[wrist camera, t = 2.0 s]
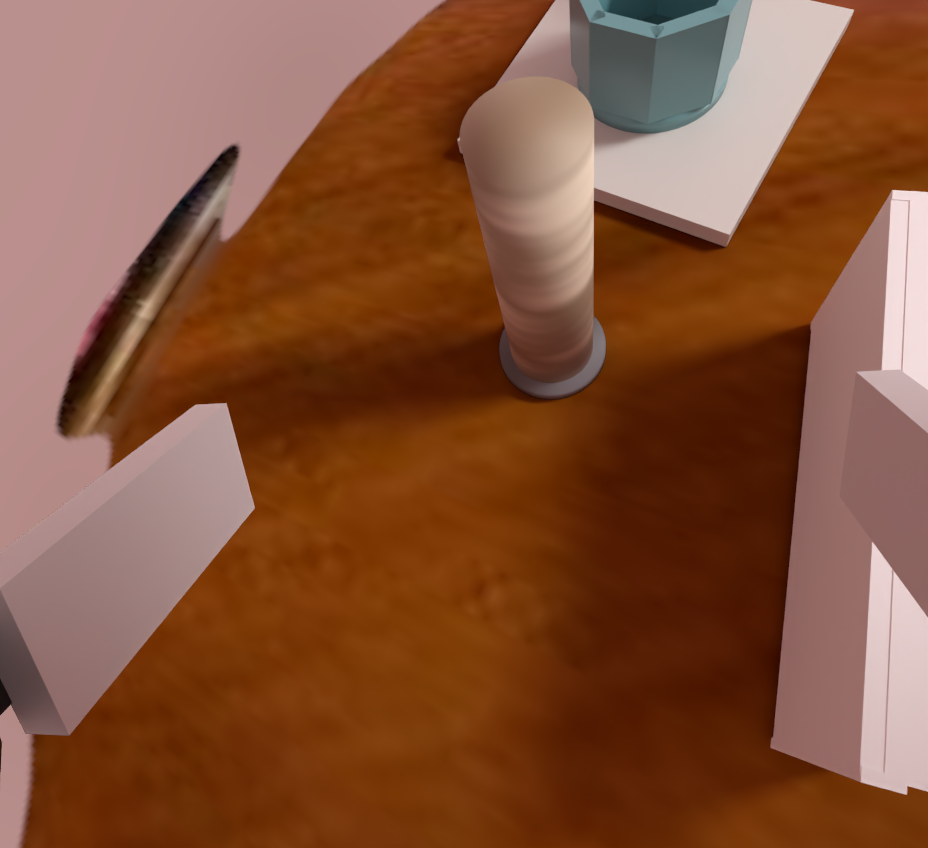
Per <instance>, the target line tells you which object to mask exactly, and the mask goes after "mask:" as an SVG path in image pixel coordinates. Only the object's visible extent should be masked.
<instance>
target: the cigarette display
mask: <svg viewBox="0 0 928 848" xmlns="http://www.w3.org/2000/svg"><path fill="white" fill-rule="evenodd" d="M810 330H811V338H810V348H809V359H808V370H807V380H806V391H805V402H804V412H803V423H802V434H801V444H800V455H799V466H798V477H797V487H796V498H795V509H794V519H793V530H792V541H791V551H790V562H789V573H788V583H787V594H786V605H785V616H784V626H783V637H782V648H781V658H780V669H779V680H778V690H777V701H776V712H775V722H774V733H773V738H772V737H771V746H770V748H772V749H775V750H777V751H780V752H782V753H785V754H788V755H790V756H793V757H796V758H798V759H801V760H804V761H806V762H809V763H811V764H814V765H817V766H819V767H822V768H825V769H827V770H830V771H833V772H835V773H838V774H840V775H843V776H846V777H848V778H851V779H854V780H856V781H859V782H862V783H865V784H869V785H873V786H876V787H880V788H884V789H887V790H891V791H894V792H898V793H902V794H905V795H907V786H909V787H913V788H917V789H920V790H924V791H928V617H927V616H926V614H925V613H924V612H923V610H922V609H921V607H920V606H919V605H918V603H917V602H916V601H915V599H914V598H913V597H912V595H911V594H910V592H909V591H908V590H907V588H906V587H905V586H904V584H903V583H902V581H901V580H900V579H899V577H898V576H897V575H896V573H895V572H894V570H893V569H892V568H891V566H890V565H889V564H888V562H887V561H886V560H885V558H884V557H883V555H882V554H881V553H880V551H879V550H878V549H877V547H876V546H875V544H874V543H873V542H872V540H871V539H870V538H869V536H868V535H867V534H866V532H865V531H864V529H863V528H862V527H861V525H860V524H859V523H858V521H857V520H856V518H855V517H854V516H853V514H852V513H851V512H850V510H849V509H848V508H847V506H846V505H845V503H844V502H843V501H842V499H841V498H840V497H839V494H840V487H841V480H842V472H843V465H844V457H845V450H846V443H847V435H848V428H849V420H850V413H851V406H852V398H853V391H854V383H855V376H856V372H859V371H879V370H899V369H900V370H901V371H903V372H904V373H905V374H907V375H908V376H909V377H911V378H912V379H913V380H915V381H916V382H917V383H919V384H920V385H922V386H923V387H924V388H926V389H927V390H928V192H917V191H899V190H892V192H891V194H890V195H889V197H888V198H887V200H886V202H885V203H884V205H883V207H882V208H881V210H880V211H879V213H878V215H877V216H876V218H875V220H874V221H873V223H872V224H871V226H870V228H869V229H868V231H867V233H866V234H865V236H864V237H863V239H862V241H861V242H860V244H859V246H858V247H857V249H856V250H855V252H854V254H853V255H852V257H851V259H850V260H849V262H848V263H847V265H846V267H845V268H844V270H843V271H842V273H841V275H840V276H839V278H838V280H837V281H836V283H835V284H834V286H833V288H832V289H831V291H830V293H829V294H828V296H827V297H826V299H825V301H824V302H823V304H822V306H821V307H820V309H819V310H818V312H817V314H816V315H815V317H814V319H813V320H812V322H811V326H810Z"/></svg>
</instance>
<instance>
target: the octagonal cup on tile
mask: <svg viewBox="0 0 928 848" xmlns="http://www.w3.org/2000/svg"><path fill="white" fill-rule="evenodd" d="M853 12H854V10H852V9H847V8H842V7H838V6H833V5H829V4H824V3H820V2H815V1H810V0H555V2H554V3H553V4H552V6H551V7H550V9H549V10H548V12H547V13H546V14H545V16H544V17H543V19H542V20H541V22H540V23H539V24H538V26H537V27H536V29H535V30H534V31H533V33H532V34H531V36H530V37H529V39H528V40H527V41H526V43H525V44H524V46H523V47H522V49H521V50H520V51H519V53H518V54H517V56H516V57H515V58H514V60H513V61H512V63H511V64H510V66H509V67H508V68H507V70H506V71H505V73H504V74H503V76H502V77H501V78H500V80H499V81H498V83H497V84H496V86H498V85H500V84H502V83H505V82H507V81H510V80H514V79H518V78H523V77H533V76H536V77H550V78H554V79H558V80H561V81H564V82H566V83H568V84H570V85H572V86H574V87H575V88H577V89H578V90H579V91H580V92H581V93H582V94H583V95H584V96H585V97H586V98H587V100H588V101H589V103H590V105H591V107H592V110H593V115H594V200H595V201H597V202H600V203H603V204H606V205H609V206H612V207H614V208H617V209H620V210H623V211H626V212H628V213H631V214H634V215H637V216H640V217H643V218H645V219H648V220H651V221H654V222H657V223H660V224H662V225H665V226H668V227H671V228H674V229H676V230H679V231H682V232H685V233H688V234H691V235H693V236H696V237H699V238H702V239H705V240H707V241H710V242H713V243H716V244H719V245H722V246H724V247H726V246H727V244H728V243H729V241H730V239H731V237H732V235H733V234H734V232H735V230H736V228H737V226H738V224H739V223H740V221H741V219H742V217H743V215H744V214H745V212H746V210H747V208H748V206H749V205H750V203H751V201H752V199H753V197H754V196H755V194H756V192H757V190H758V188H759V186H760V185H761V183H762V181H763V179H764V177H765V176H766V174H767V172H768V170H769V168H770V167H771V165H772V163H773V161H774V159H775V158H776V156H777V154H778V152H779V150H780V148H781V147H782V145H783V143H784V141H785V139H786V138H787V136H788V134H789V132H790V130H791V129H792V127H793V125H794V123H795V121H796V119H797V118H798V116H799V114H800V112H801V110H802V109H803V107H804V105H805V103H806V101H807V100H808V98H809V96H810V94H811V92H812V91H813V89H814V87H815V85H816V83H817V81H818V80H819V78H820V76H821V74H822V72H823V71H824V69H825V67H826V65H827V63H828V62H829V60H830V58H831V56H832V54H833V53H834V51H835V49H836V47H837V45H838V43H839V42H840V40H841V38H842V36H843V34H844V33H845V31H846V29H847V27H848V25H849V22H850V20H851V17H852V15H853ZM496 86H495V87H496ZM457 141H458V145H459V149H460V153H462V149H461V145H460V137H459V138H458V140H457ZM462 154H463V153H462Z"/></svg>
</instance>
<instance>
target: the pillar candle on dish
mask: <svg viewBox="0 0 928 848" xmlns="http://www.w3.org/2000/svg"><path fill="white" fill-rule="evenodd" d="M460 145H461V149H462V153H463V157H464V161H465V165H466V170H467V174H468V178H469V182H470V186H471V190H472V194H473V198H474V202H475V206H476V210H477V215H478V219H479V223H480V227H481V231H482V235H483V239H484V243H485V247H486V251H487V255H488V260H489V264H490V268H491V272H492V276H493V280H494V284H495V288H496V292H497V296H498V301H499V305H500V309H501V313H502V317H503V321H504V325H505V329H504V330H503V333H502V335H501V339H500V344H499V355H500V360H501V364H502V367H503V370H504V372H505V374H506V376H507V378H508V379H509V380H510V382H511V383H512V384H513V385H514V386H515V387H516V388H518V389H519V390H520V391H522V392H524V393H526V394H528V395H530V396H533V397H536V398H541V399H561V398H566V397H569V396H572V395H574V394H576V393H578V392H580V391H582V390H583V389H585V388H586V387H588V386H589V385H590V384H591V383H592V382H593V381H594V380H595V378H596V377H597V376H598V374H599V373H600V371H601V369H602V366H603V363H604V360H605V351H606V341H605V335H604V332H603V329H602V327H601V325H600V323H599V322H598V320H597V319H596V318H595V317H594V315H593V258H594V115H593V110H592V107H591V105H590V103H589V101H588V100H587V98H586V97H585V96H584V95H583V94H582V93H581V92H580V91H579V90H578V89H577V88H575V87H574V86H572V85H570V84H568V83H566V82H564V81H561V80H558V79H554V78H550V77H536V76H533V77H523V78H518V79H514V80H510V81H507V82H505V83H502V84H500V85H498V86H496V87H494V88H492V89H490V90H489V91H487V92H486V93H484V94H483V95H482V96H481V97H479V98H478V99H477V100H476V101H475V102H474V103H473V105H472V106H471V107H470V108H469V110H468V111H467V113H466V115H465V117H464V119H463V121H462V124H461V128H460Z"/></svg>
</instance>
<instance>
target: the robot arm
mask: <svg viewBox="0 0 928 848" xmlns="http://www.w3.org/2000/svg"><path fill="white" fill-rule="evenodd" d="M839 497H840V498H841V499H842V501H843V502H844V503H845V505H846V506H847V508H848V509H849V510H850V512H851V513H852V514H853V516H854V517H855V518H856V520H857V521H858V523H859V524H860V525H861V527H862V528H863V529H864V531H865V532H866V534H867V535H868V536H869V538H870V539H871V540H872V542H873V543H874V544H875V546H876V547H877V549H878V550H879V551H880V553H881V554H882V555H883V557H884V558H885V560H886V561H887V562H888V564H889V565H890V566H891V568H892V569H893V570H894V572H895V573H896V575H897V576H898V577H899V579H900V580H901V581H902V583H903V584H904V586H905V587H906V588H907V590H908V591H909V592H910V594H911V595H912V597H913V598H914V599H915V601H916V602H917V603H918V605H919V606H920V607H921V609H922V610H923V612H924V613H925V614H926V616H927V617H928V390H927V389H926V388H924V387H923V386H922V385H920V384H919V383H917V382H916V381H915V380H913V379H912V378H911V377H909V376H908V375H907V374H905V373H904V372H903V371H901V370H900V369H899V370H879V371H859V372H856V376H855V383H854V391H853V398H852V406H851V413H850V420H849V428H848V435H847V443H846V450H845V457H844V465H843V472H842V480H841V487H840V494H839ZM254 508H255V507H254V503H253V500H252V496H251V492H250V489H249V485H248V481H247V477H246V474H245V470H244V466H243V463H242V459H241V455H240V451H239V448H238V444H237V440H236V437H235V433H234V429H233V425H232V422H231V418H230V414H229V411H228V407H227V403H220V404H200V405H195V406H193V407H192V408H191V409H189V410H188V411H187V412H185V413H184V414H183V415H181V416H180V417H179V418H177V419H176V420H175V421H173V422H172V423H171V424H169V425H168V426H167V427H165V428H164V429H163V430H161V431H160V432H159V433H157V434H156V435H155V436H153V437H152V438H151V439H149V440H148V441H147V442H145V443H144V444H143V445H141V446H140V447H139V448H137V449H136V450H135V451H133V452H132V453H131V454H130V455H128V456H127V457H126V458H124V459H123V460H122V461H120V462H119V463H118V464H116V465H115V466H114V467H112V468H111V469H110V470H108V471H107V472H106V473H104V474H103V475H102V476H100V477H99V478H98V479H96V480H95V481H94V482H92V483H91V484H90V485H88V486H87V487H86V488H84V489H83V490H82V491H81V492H79V493H78V494H76V495H75V496H74V497H72V498H71V499H70V500H69V501H67V502H66V503H65V504H63V505H62V506H61V507H59V508H58V509H57V510H55V511H54V512H53V513H51V514H50V515H49V516H47V517H46V518H45V519H43V520H42V521H41V522H39V523H38V524H37V525H35V526H34V527H33V528H31V529H30V530H29V531H27V532H26V533H25V534H23V535H22V536H21V537H19V538H18V539H17V540H15V541H14V542H13V543H11V544H10V545H9V546H7V548H5V549H3V550H2V551H1V552H0V715H1V714H2V713H3V712H4V711H5V710H6V709H7V708H8V707H9V706H10V705H11V706H12V708H13V710H14V712H15V713H16V715H17V718H18V719H19V721H20V723H21V725H22V727H23V729H24V731H25V733H26V734H46V735H68V736H69V735H70V734H71V733H72V732H73V730H74V729H75V728H76V727H77V726H78V724H79V723H80V722H81V721H82V719H83V718H84V717H85V716H86V715H87V713H88V712H89V711H90V710H91V708H92V707H93V706H94V705H95V703H96V702H97V701H98V700H99V699H100V697H101V696H102V695H103V694H104V692H105V691H106V690H107V689H108V688H109V686H110V685H111V684H112V683H113V681H114V680H115V679H116V678H117V676H118V675H119V674H120V673H121V672H122V670H123V669H124V668H125V667H126V665H127V664H128V663H129V662H130V661H131V659H132V658H133V657H134V656H135V654H136V653H137V652H138V651H139V649H140V648H141V647H142V646H143V645H144V643H145V642H146V641H147V640H148V638H149V637H150V636H151V635H152V634H153V632H154V631H155V630H156V629H157V627H158V626H159V625H160V624H161V622H162V621H163V620H164V619H165V618H166V616H167V615H168V614H169V613H170V611H171V610H172V609H173V608H174V607H175V605H176V604H177V603H178V602H179V600H180V599H181V598H182V597H183V596H184V594H185V593H186V592H187V591H188V589H189V588H190V587H191V586H192V584H193V583H194V582H195V581H196V580H197V578H198V577H199V576H200V575H201V573H202V572H203V571H204V570H205V569H206V567H207V566H208V565H209V564H210V562H211V561H212V560H213V559H214V557H215V556H216V555H217V554H218V553H219V551H220V550H221V549H222V548H223V546H224V545H225V544H226V543H227V542H228V540H229V539H230V538H231V537H232V535H233V534H234V533H235V532H236V530H237V529H238V528H239V527H240V526H241V524H242V523H243V522H244V521H245V519H246V518H247V517H248V516H249V515H250V513H251V512H252V511H253V510H254ZM1 747H2V742H1V739H0V770H1Z"/></svg>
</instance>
